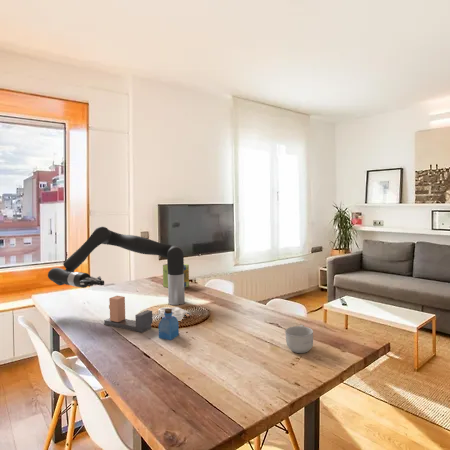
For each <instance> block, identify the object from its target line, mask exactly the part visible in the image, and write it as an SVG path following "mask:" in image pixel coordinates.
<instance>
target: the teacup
mask: <svg viewBox="0 0 450 450" xmlns="http://www.w3.org/2000/svg"><path fill="white" fill-rule="evenodd" d="M284 331H285V332H284V333H285V343H286V347H288V349H289V350H291V351H292V352H293V353H296V354H297V353H298V354H306V353H307V352H309V351H310V350H311V349H312V348H313V346H314V330H313V329H312V328H310V327H308V326H305V325H303V324H300V325H295V326H288V328H286V329H285V330H284Z"/></svg>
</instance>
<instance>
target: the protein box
mask: <svg viewBox="0 0 450 450" xmlns="http://www.w3.org/2000/svg"><path fill="white" fill-rule="evenodd" d="M189 266H190V264H188V263H187V264H186V263H184V289H186V288H189V287H190V268H189ZM162 286H163V287H164V288H168V266H167V263H165V264H163V265H162Z"/></svg>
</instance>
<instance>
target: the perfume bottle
mask: <svg viewBox="0 0 450 450" xmlns="http://www.w3.org/2000/svg"><path fill="white" fill-rule="evenodd" d="M164 315H165V317H163V318H162V319H161V318H160V321H159V322H158V338H159V339H163V340H168V341H172V340H173V339H176V338H177V337H178V336H179V334H180V333H179V331H180V330H179V329H180V328H179V327H180V326H179V322H178V320H177V319H176V317H175V316H172V309H165V312H164Z"/></svg>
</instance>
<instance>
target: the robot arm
mask: <svg viewBox="0 0 450 450" xmlns="http://www.w3.org/2000/svg"><path fill="white" fill-rule="evenodd" d="M101 245H107V246H114V247H119V248H122V249H125V250H126V251H129V252H134V253H137V254H142V255H147V256H148V255H151V256H159V257H163V258H166V262H167V263H166V264H167V266H168V287H167V289H168V290H167V293H168V302H167V303H168V304H169V305H170V306H171V305H172V306H179V304H180V305H182V304H183V305H184V303H186V299H185V298H186V297H185V295H186V294H185V289H186V288H184V264H185V262H184V261H185V259H184V255H185V254H184V250H183V248H182V247H180V246H179V245H172V244H166V243H162V242H159V241H156V240H153V239H150V238H146V237H143V236H138V235H133V234H121V233H119V232H115V231H112V230H110V229H108V227H106V226H98V227H97V228H95V229H94V231H93V232H92V233H91V235H90V236H89V237H88V238H87V239H86V240H85V242H84V243H83V244H82V245H81V246H79V248H78V249H76V250H75V252H73V253H72V254H71V255H70V256H69V257H68V258H66V259H65V261H64V262H63V266H64V268H65V269H63V268H61V267H53V268H51V269H50V270H49V271H48V272H47V278H48V279H49V280H50V281H51V282H53V283H54V284H56V285H58V286H63V285H66V286H72V287H75V288H81V289H82V288H83V289H85V288H87V287H93V286H104V285H105V281H104V280H102V277H101V276H96V277H94V276H91V275H90V274H89V273H88V272H82V271H76V270H77V269H78V268H79V267H80V266H81V265H83V263H84V262H85V261H86V260H87V258H88V257H89V256H90V255H91V253H92V252H94V250H95V249H96V248H97V247H100V246H101Z"/></svg>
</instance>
